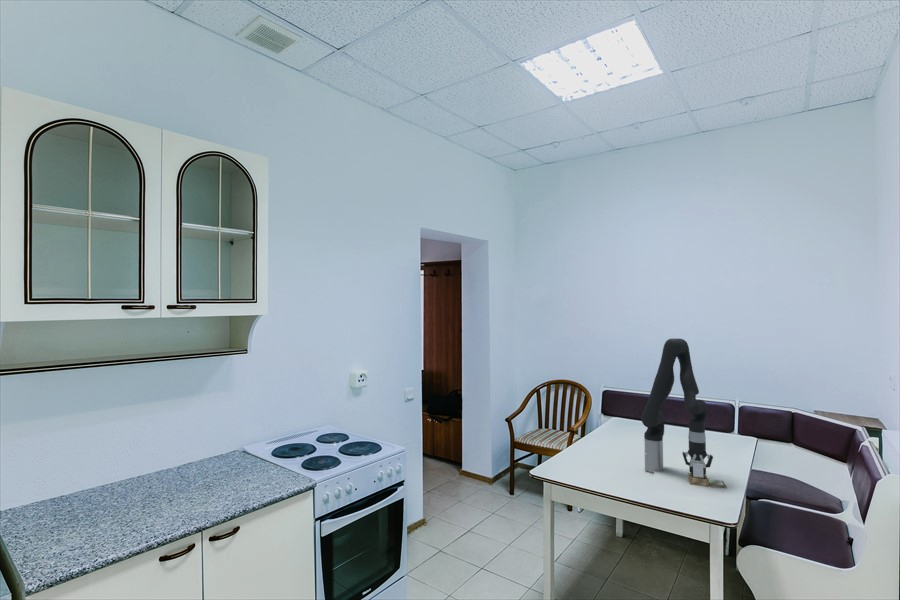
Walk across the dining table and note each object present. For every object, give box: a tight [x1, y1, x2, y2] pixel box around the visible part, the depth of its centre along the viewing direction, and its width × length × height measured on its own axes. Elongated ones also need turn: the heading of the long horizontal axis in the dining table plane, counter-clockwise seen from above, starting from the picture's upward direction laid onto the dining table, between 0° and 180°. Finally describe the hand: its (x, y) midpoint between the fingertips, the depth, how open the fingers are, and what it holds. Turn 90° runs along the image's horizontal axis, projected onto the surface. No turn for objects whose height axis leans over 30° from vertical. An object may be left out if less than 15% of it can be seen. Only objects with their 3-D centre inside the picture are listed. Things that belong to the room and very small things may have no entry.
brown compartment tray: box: [687, 472, 728, 490], centre depth 224 cm, size 16×11×4 cm
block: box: [692, 461, 704, 479], centre depth 224 cm, size 4×4×10 cm
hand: (697, 474), depth 224 cm, fingers closed on block, 4 cm apart
